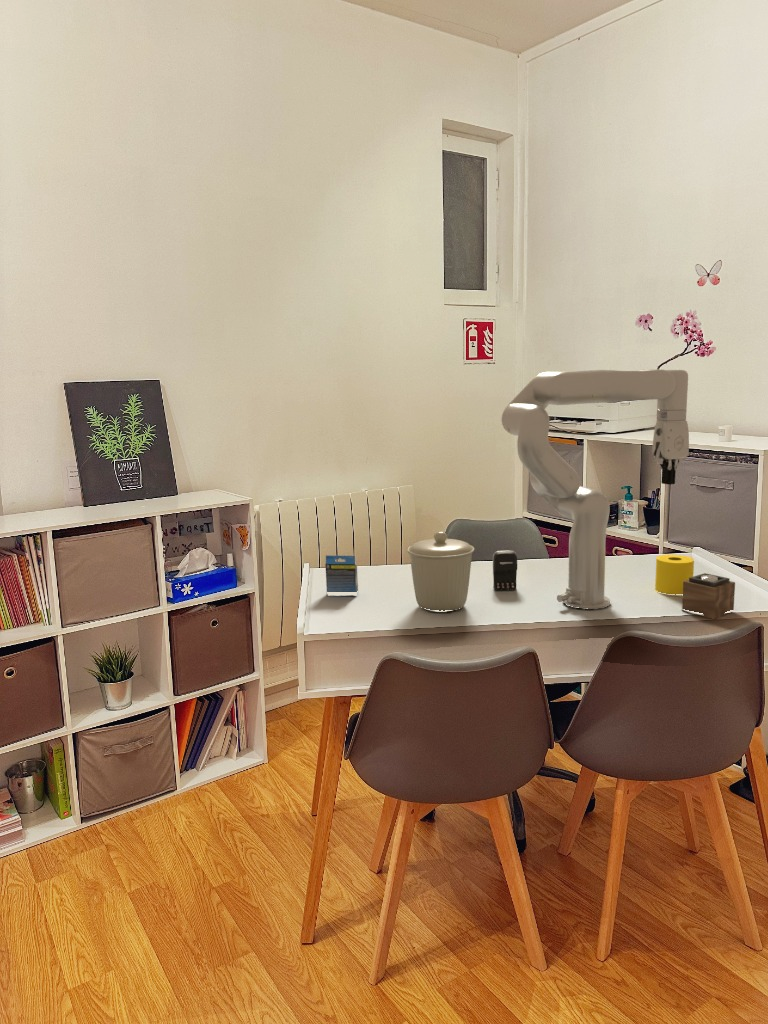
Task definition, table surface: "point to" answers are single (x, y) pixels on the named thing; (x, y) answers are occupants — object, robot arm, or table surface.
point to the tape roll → (673, 573)
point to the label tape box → (341, 574)
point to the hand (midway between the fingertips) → (668, 483)
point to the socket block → (708, 596)
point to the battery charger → (504, 570)
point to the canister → (441, 572)
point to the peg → (709, 578)
